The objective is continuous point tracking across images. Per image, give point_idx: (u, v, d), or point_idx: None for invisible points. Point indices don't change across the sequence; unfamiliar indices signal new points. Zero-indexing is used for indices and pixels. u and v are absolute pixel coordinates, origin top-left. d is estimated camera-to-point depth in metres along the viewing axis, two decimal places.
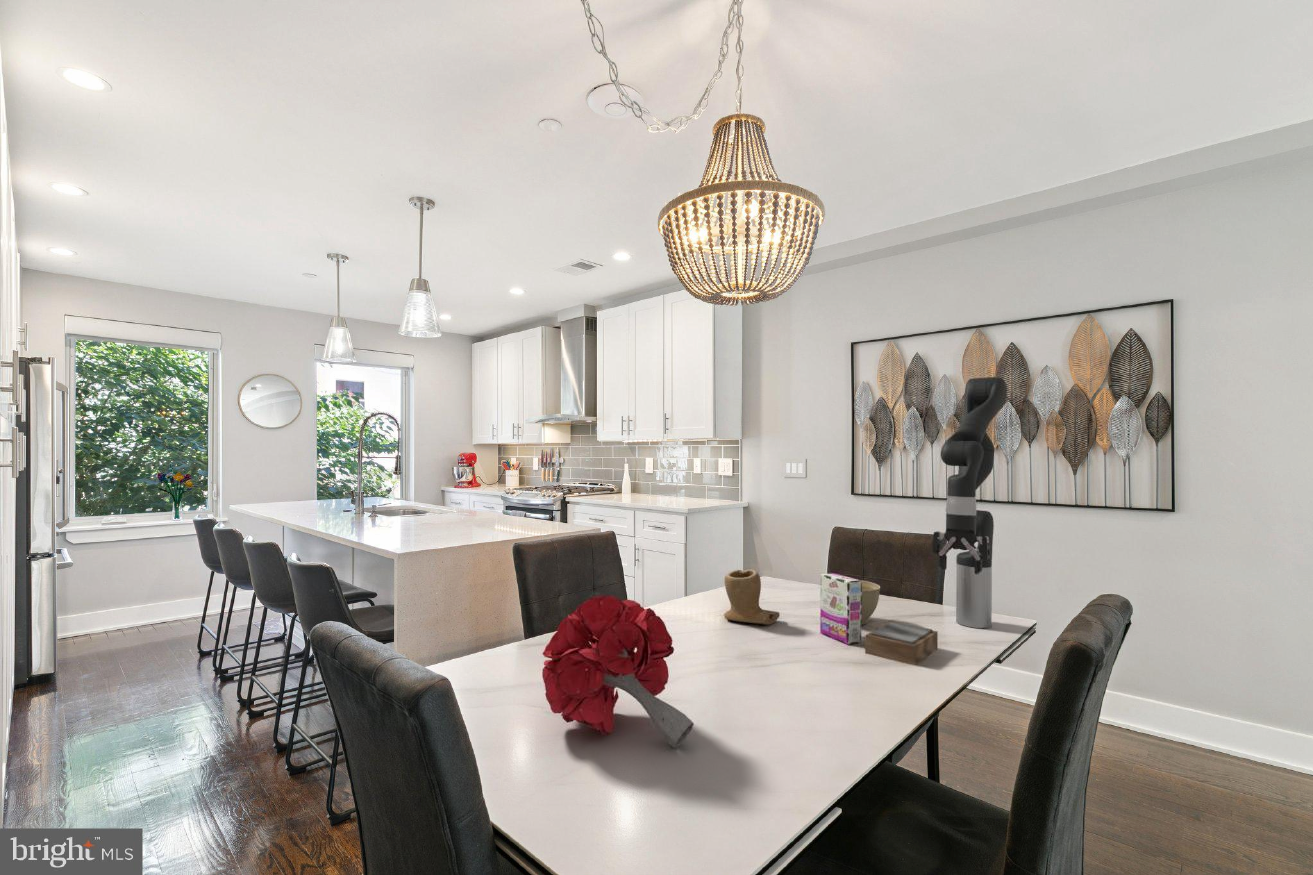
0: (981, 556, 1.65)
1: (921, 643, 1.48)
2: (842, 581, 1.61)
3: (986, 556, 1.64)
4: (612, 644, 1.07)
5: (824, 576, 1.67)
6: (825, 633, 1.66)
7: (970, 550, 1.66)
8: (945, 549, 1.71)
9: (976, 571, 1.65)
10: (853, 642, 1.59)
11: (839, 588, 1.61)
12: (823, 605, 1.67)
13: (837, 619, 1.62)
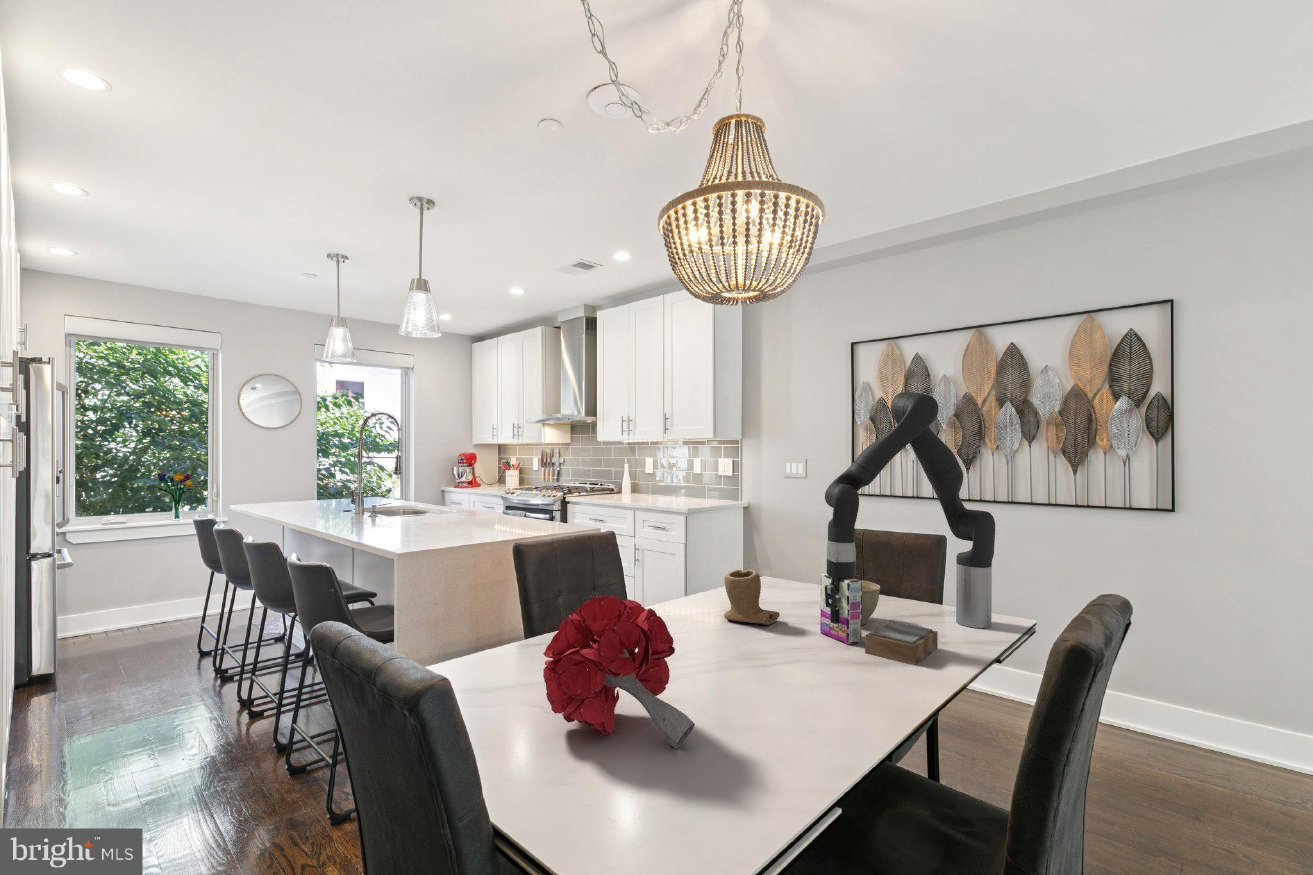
0: None
1: (921, 643, 1.48)
2: (842, 581, 1.61)
3: None
4: (613, 644, 1.07)
5: (824, 576, 1.67)
6: (825, 633, 1.66)
7: None
8: None
9: None
10: (853, 642, 1.59)
11: None
12: (823, 605, 1.67)
13: None
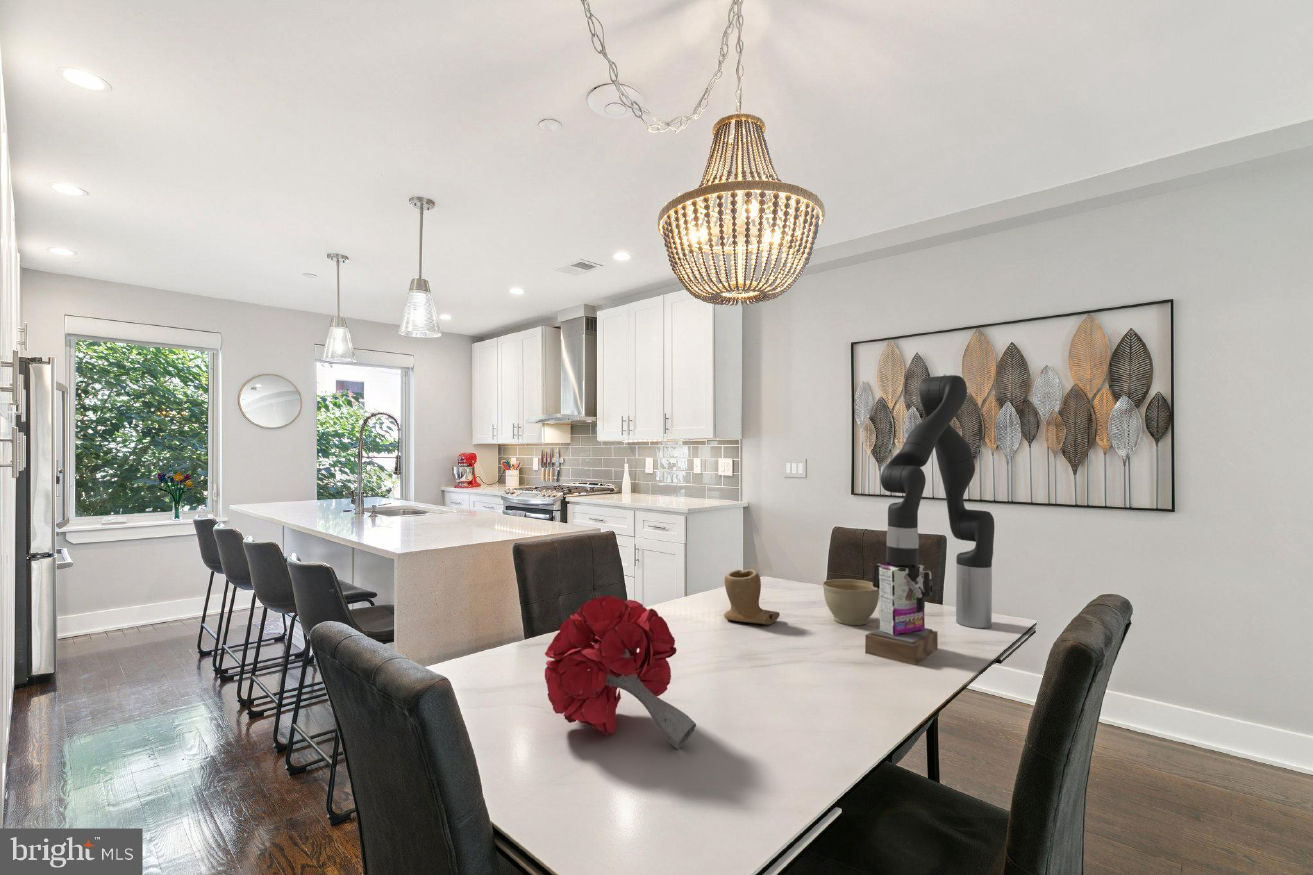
0: None
1: (921, 643, 1.48)
2: None
3: None
4: (615, 644, 1.07)
5: (898, 570, 1.51)
6: (900, 632, 1.51)
7: None
8: None
9: None
10: None
11: None
12: (897, 603, 1.51)
13: (914, 609, 1.53)
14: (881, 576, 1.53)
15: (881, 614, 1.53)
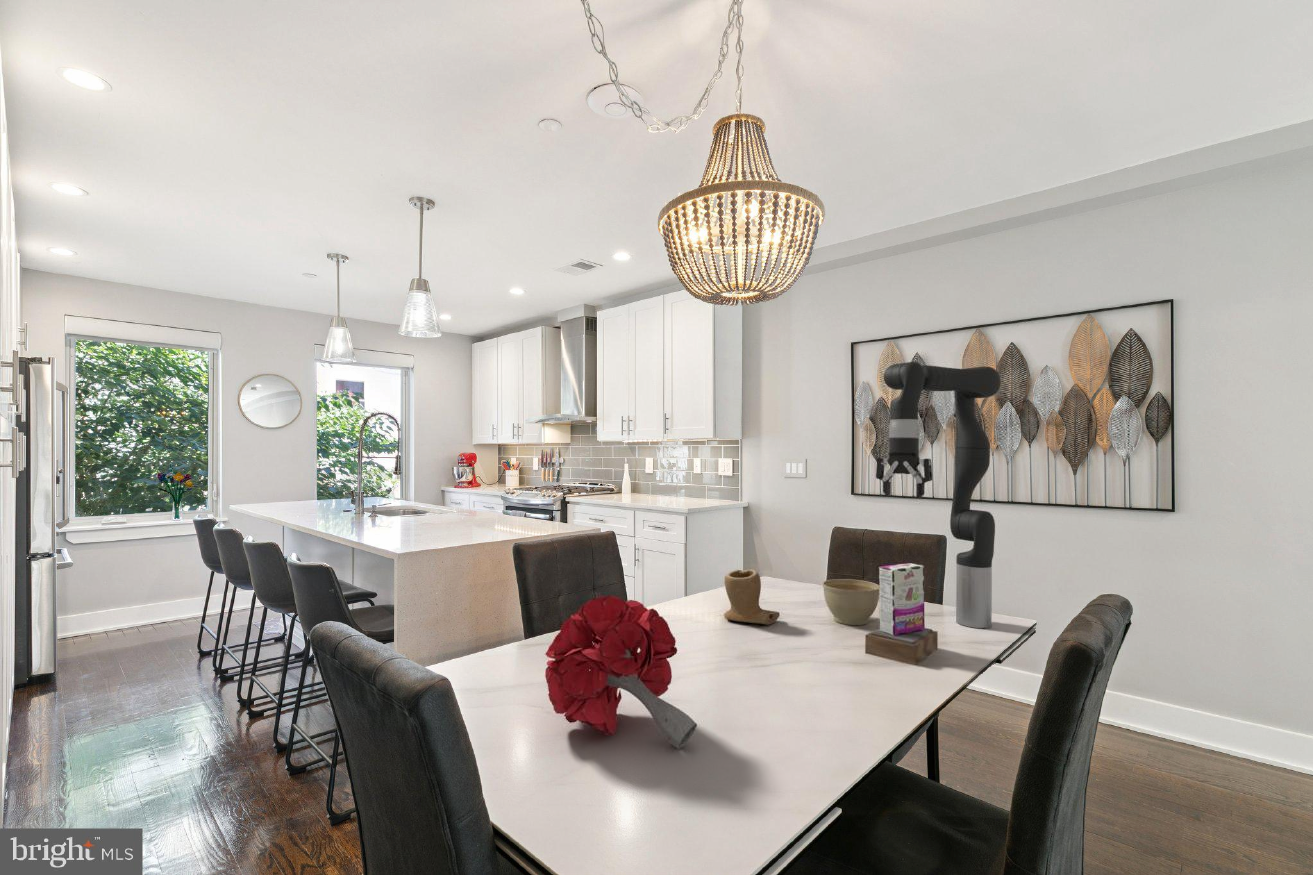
0: None
1: (921, 643, 1.48)
2: (918, 568, 1.54)
3: None
4: (615, 644, 1.06)
5: (898, 570, 1.51)
6: (900, 632, 1.51)
7: None
8: None
9: None
10: None
11: (915, 576, 1.53)
12: (897, 603, 1.51)
13: (914, 609, 1.53)
14: (881, 576, 1.53)
15: (881, 614, 1.53)
